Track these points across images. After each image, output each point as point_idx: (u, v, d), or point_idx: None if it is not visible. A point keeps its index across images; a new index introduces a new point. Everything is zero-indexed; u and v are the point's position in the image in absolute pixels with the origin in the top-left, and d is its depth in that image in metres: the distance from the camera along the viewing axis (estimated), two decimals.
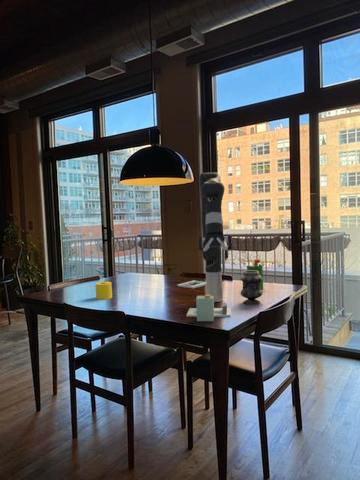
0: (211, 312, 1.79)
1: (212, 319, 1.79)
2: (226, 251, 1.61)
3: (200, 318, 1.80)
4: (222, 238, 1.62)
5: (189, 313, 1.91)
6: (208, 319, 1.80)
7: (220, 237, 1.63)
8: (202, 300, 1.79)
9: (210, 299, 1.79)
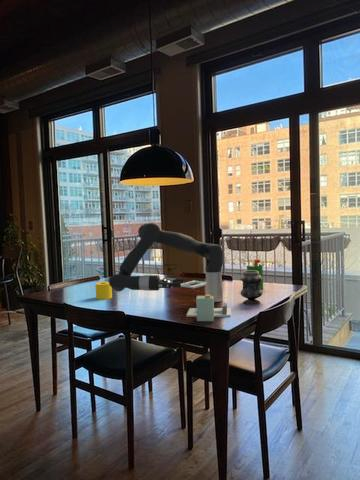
0: (211, 312, 1.79)
1: (212, 319, 1.79)
2: (173, 286, 1.79)
3: (200, 318, 1.80)
4: None
5: (189, 313, 1.91)
6: (208, 319, 1.80)
7: None
8: (202, 300, 1.79)
9: (210, 299, 1.79)
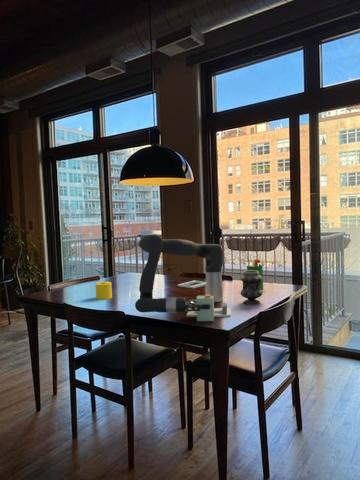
0: (211, 312, 1.79)
1: (212, 319, 1.79)
2: (202, 308, 1.79)
3: (200, 318, 1.80)
4: None
5: (189, 313, 1.91)
6: (208, 319, 1.80)
7: None
8: (202, 300, 1.79)
9: (210, 299, 1.79)
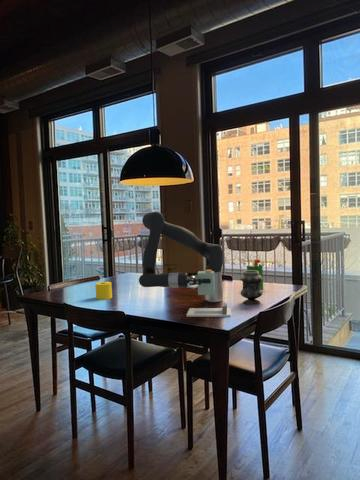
0: (212, 286, 1.87)
1: (213, 293, 1.87)
2: (203, 282, 1.87)
3: (201, 292, 1.88)
4: None
5: (189, 313, 1.91)
6: (208, 293, 1.88)
7: None
8: (203, 274, 1.87)
9: (211, 273, 1.87)
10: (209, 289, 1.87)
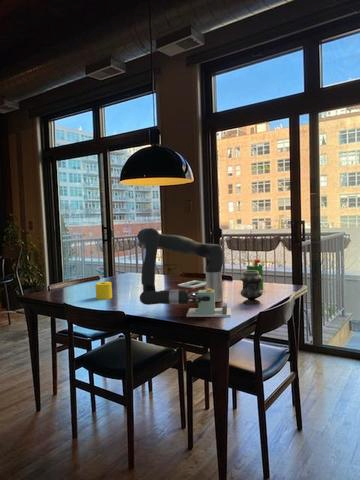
0: (212, 305, 1.88)
1: (213, 312, 1.88)
2: None
3: (201, 311, 1.89)
4: None
5: (189, 313, 1.91)
6: (209, 312, 1.88)
7: None
8: (203, 294, 1.88)
9: (211, 293, 1.87)
10: (209, 308, 1.88)
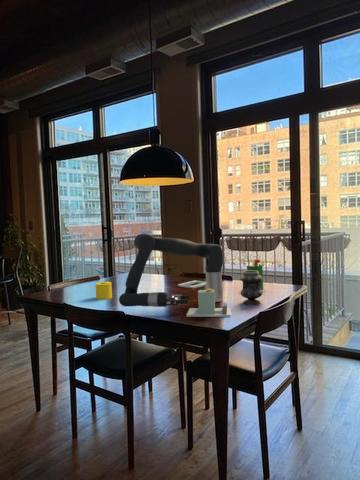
0: (212, 305, 1.88)
1: (213, 312, 1.88)
2: (180, 303, 1.88)
3: (201, 311, 1.89)
4: None
5: (189, 313, 1.91)
6: (209, 312, 1.88)
7: None
8: (203, 294, 1.88)
9: (211, 293, 1.87)
10: (209, 308, 1.88)
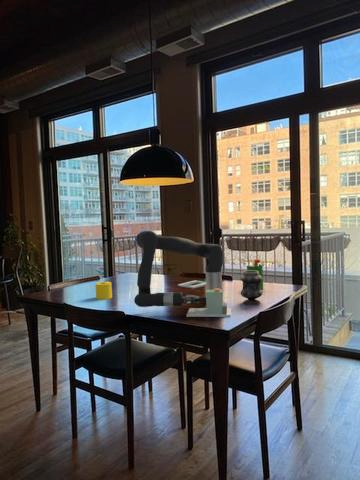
0: (220, 305, 1.87)
1: (221, 312, 1.87)
2: None
3: (209, 311, 1.88)
4: None
5: (189, 313, 1.91)
6: (217, 312, 1.88)
7: None
8: (212, 294, 1.87)
9: (219, 293, 1.87)
10: (218, 308, 1.87)
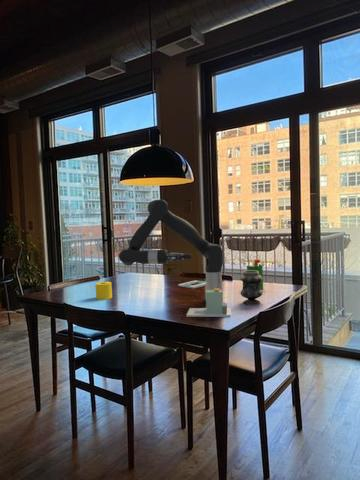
0: (220, 305, 1.87)
1: (221, 312, 1.87)
2: (184, 257, 1.90)
3: (209, 311, 1.88)
4: (170, 259, 1.89)
5: (189, 313, 1.91)
6: (217, 312, 1.88)
7: (168, 259, 1.90)
8: (211, 294, 1.87)
9: (219, 293, 1.87)
10: (217, 308, 1.87)
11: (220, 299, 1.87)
